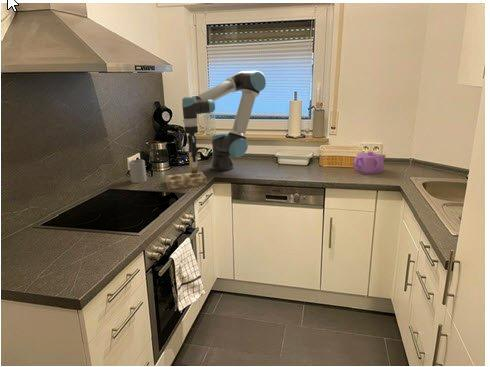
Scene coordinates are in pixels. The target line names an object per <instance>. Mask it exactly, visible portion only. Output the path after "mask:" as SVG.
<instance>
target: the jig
mask: <svg viewBox="0 0 490 367" xmlns="http://www.w3.org/2000/svg"><path fill="white" fill-rule="evenodd" d="M164 178H165V180H164V181H165V184H166V187H167V190H173V189H181V188H189V187H188V186H190V187H197V186H196V185H198V186H206V185H208V180H207V176H206V175H205V174H204V173H203V171H198V173H195V174H192V173H190V172H187V173H186V172H185V173H179V174H178V173H177V174H168V175H167V174H166V175H165V176H164Z"/></svg>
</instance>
